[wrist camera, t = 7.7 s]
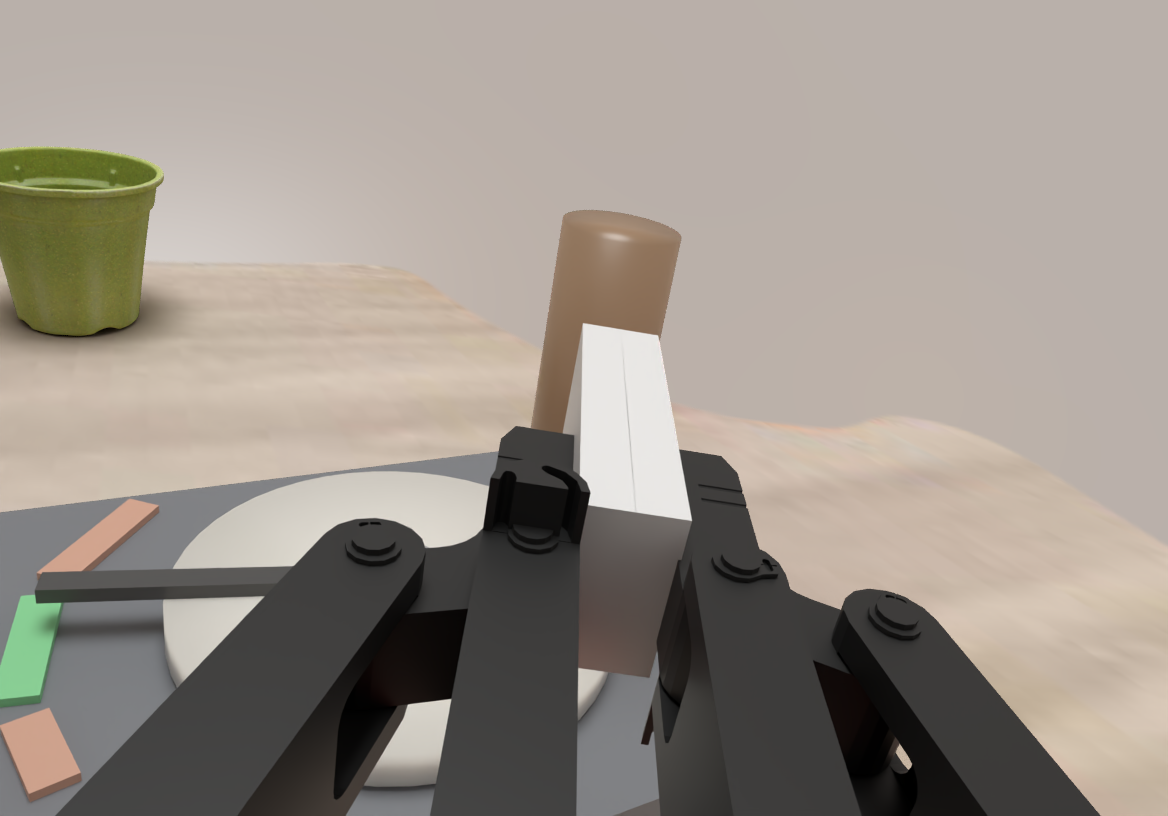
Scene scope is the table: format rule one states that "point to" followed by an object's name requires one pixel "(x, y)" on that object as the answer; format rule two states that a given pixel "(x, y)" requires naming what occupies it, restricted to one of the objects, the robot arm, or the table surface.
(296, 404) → the table surface
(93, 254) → the plant pot
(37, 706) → the dial plate
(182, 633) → the post on round base
